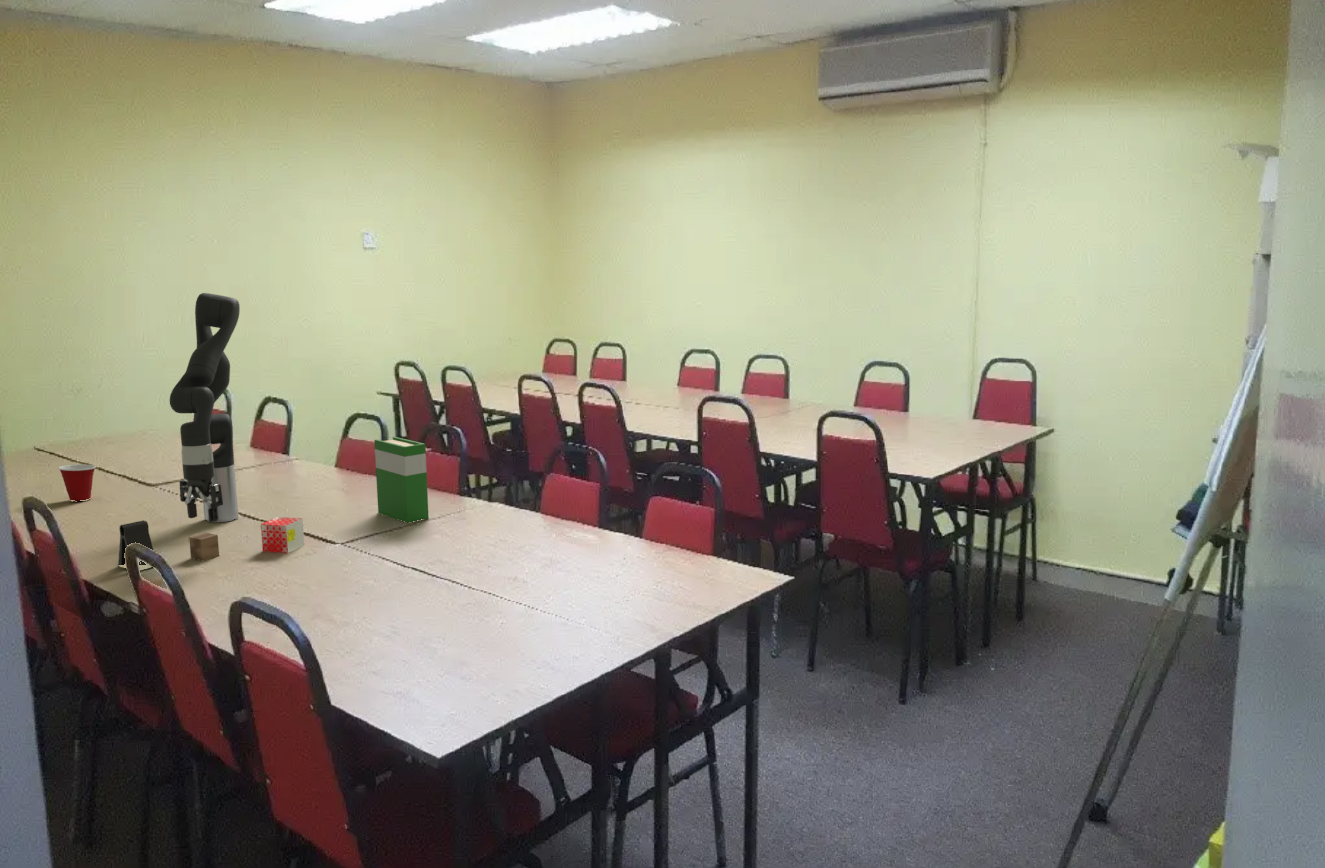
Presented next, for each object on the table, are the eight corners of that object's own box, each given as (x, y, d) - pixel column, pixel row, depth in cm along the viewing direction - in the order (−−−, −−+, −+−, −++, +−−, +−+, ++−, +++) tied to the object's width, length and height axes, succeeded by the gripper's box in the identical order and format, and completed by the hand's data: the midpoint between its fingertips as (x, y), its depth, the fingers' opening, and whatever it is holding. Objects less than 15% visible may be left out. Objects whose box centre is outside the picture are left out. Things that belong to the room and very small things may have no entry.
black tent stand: (157, 567, 248) (153, 523, 246) (133, 573, 243) (129, 528, 241) (141, 560, 254) (137, 517, 251) (118, 566, 249) (113, 522, 247)
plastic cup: (106, 499, 320) (102, 464, 318) (72, 505, 311) (68, 470, 309) (89, 495, 326) (85, 461, 324) (56, 501, 317) (52, 466, 315)
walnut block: (190, 558, 256) (189, 537, 255) (207, 553, 260) (205, 532, 259) (202, 561, 254) (201, 539, 252) (219, 556, 258) (217, 534, 257)
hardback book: (378, 513, 303) (374, 439, 298) (398, 508, 308) (395, 436, 304) (407, 523, 291) (404, 447, 286) (428, 518, 296) (425, 443, 292)
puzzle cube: (288, 553, 261) (286, 525, 259) (262, 551, 262) (260, 524, 261) (304, 545, 268) (302, 518, 267) (279, 543, 270) (277, 516, 268)
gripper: (167, 461, 252) (173, 519, 255) (202, 465, 246) (208, 525, 248) (193, 456, 259) (198, 513, 262) (227, 460, 252) (232, 519, 255)
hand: (203, 519), depth 255 cm, fingers open, 8 cm apart
